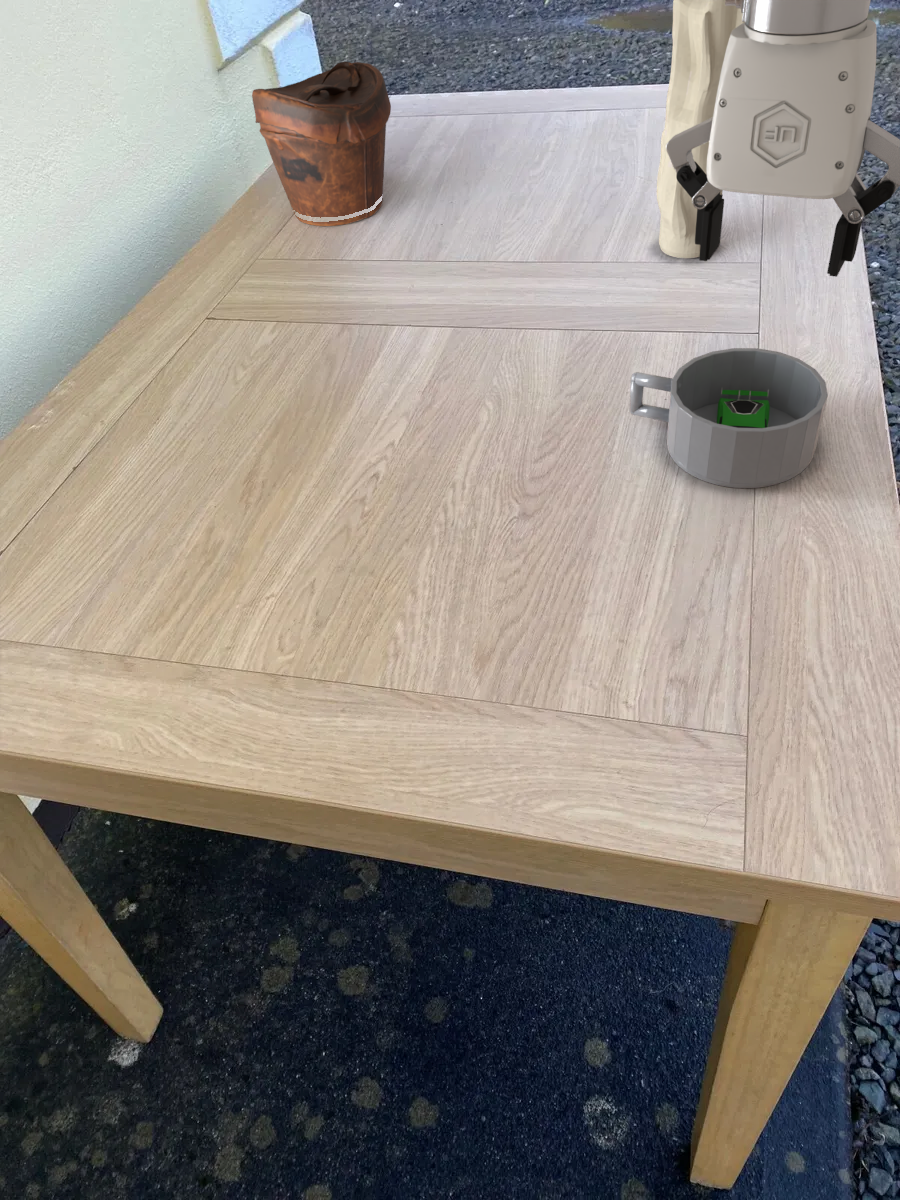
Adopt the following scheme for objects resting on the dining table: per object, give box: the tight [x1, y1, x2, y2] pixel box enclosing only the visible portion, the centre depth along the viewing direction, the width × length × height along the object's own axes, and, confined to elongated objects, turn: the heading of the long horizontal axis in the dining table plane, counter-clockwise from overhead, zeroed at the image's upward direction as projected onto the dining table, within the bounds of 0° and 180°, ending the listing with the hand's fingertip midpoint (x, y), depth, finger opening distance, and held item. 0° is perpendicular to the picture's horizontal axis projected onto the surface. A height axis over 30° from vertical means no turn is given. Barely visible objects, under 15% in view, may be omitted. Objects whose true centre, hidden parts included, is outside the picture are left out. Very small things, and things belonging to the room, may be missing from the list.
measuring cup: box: [629, 347, 828, 489], centre depth 82 cm, size 17×13×6 cm
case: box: [251, 61, 392, 227], centre depth 125 cm, size 18×20×18 cm
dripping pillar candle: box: [656, 0, 745, 259], centre depth 101 cm, size 9×8×30 cm
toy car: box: [715, 389, 770, 428], centre depth 82 cm, size 10×5×2 cm, turn 166°
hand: (771, 260), depth 70 cm, fingers open, 9 cm apart
